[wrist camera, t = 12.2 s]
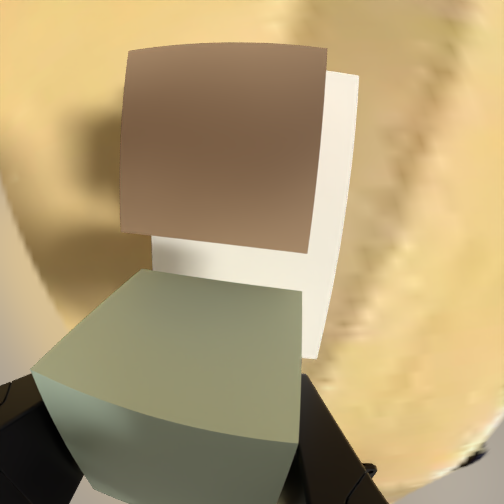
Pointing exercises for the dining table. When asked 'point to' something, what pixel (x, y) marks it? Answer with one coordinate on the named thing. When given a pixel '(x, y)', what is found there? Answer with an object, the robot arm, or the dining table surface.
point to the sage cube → (181, 390)
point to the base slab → (321, 235)
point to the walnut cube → (222, 143)
